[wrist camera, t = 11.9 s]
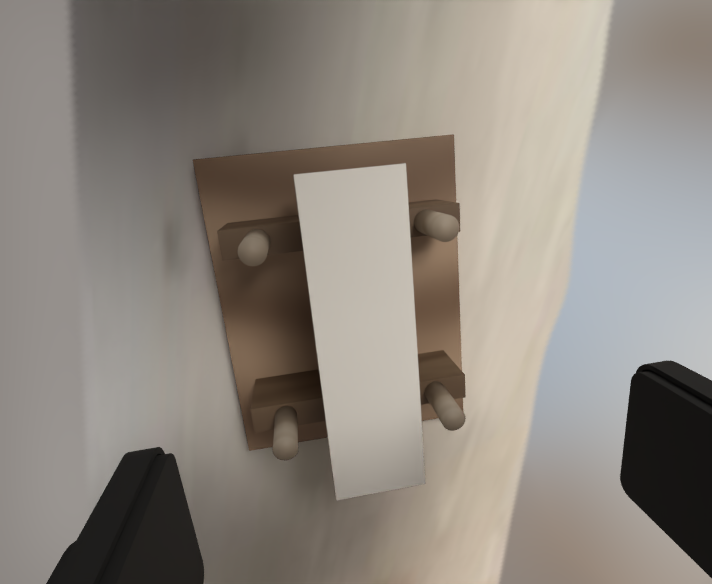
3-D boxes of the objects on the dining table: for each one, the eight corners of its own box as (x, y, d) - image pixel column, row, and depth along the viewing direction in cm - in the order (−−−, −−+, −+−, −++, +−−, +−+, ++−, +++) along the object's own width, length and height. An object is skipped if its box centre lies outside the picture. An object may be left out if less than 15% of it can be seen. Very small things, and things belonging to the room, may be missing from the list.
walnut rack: (198, 160, 20) (154, 153, 14) (445, 136, 21) (511, 120, 15) (251, 437, 24) (236, 531, 18) (455, 402, 26) (510, 479, 19)
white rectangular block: (292, 174, 17) (293, 174, 13) (380, 165, 17) (405, 163, 13) (327, 438, 20) (336, 500, 16) (400, 426, 21) (425, 483, 17)
